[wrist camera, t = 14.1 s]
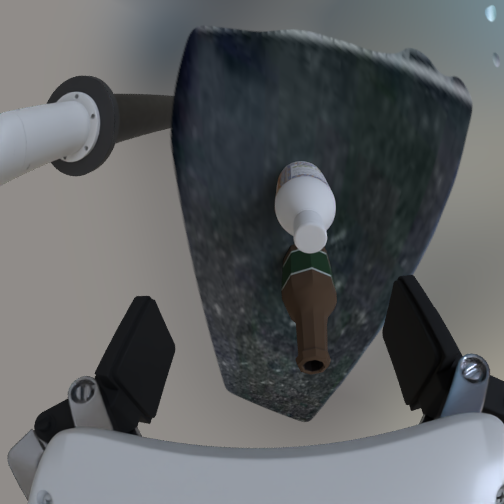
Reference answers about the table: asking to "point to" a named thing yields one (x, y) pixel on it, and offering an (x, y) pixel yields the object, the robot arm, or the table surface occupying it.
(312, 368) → the beer bottle
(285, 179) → the bath foam
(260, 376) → the table surface
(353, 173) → the table surface
